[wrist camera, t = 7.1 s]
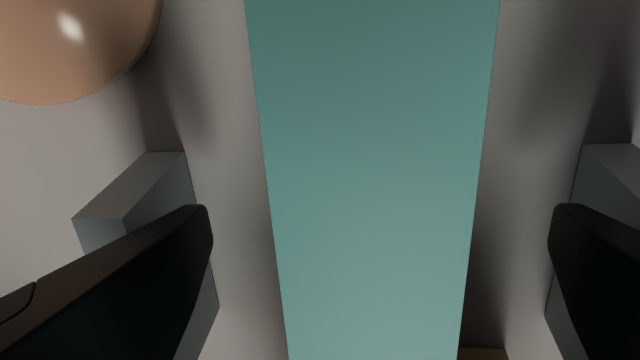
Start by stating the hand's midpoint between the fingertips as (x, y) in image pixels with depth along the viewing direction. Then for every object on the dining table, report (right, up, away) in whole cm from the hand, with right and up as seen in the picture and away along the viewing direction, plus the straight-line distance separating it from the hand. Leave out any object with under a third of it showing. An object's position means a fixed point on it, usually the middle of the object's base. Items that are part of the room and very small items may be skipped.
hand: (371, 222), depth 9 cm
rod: (0, +1, +1) cm, 2 cm away
